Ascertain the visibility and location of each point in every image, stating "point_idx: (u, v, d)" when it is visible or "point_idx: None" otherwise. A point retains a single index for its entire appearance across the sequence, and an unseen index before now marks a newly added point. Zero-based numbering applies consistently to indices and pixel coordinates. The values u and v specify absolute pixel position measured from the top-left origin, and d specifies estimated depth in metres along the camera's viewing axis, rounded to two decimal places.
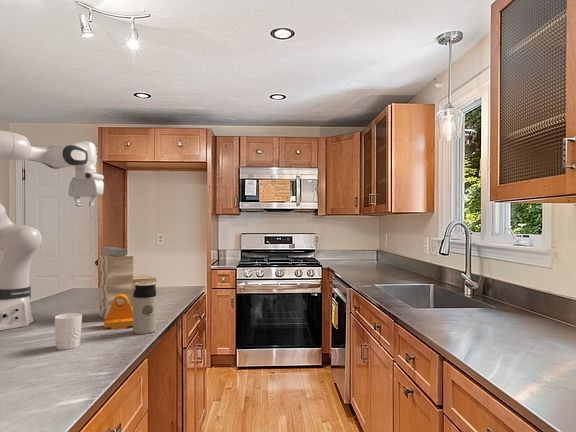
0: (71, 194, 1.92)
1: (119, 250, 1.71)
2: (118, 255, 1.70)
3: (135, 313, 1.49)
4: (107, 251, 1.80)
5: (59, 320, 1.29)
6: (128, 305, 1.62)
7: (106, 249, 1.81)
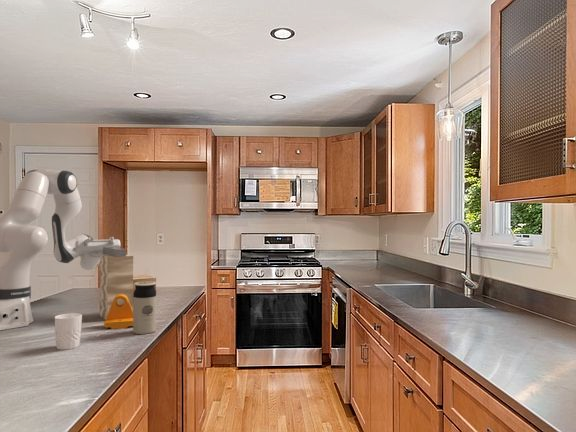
0: None
1: (119, 250, 1.71)
2: (118, 255, 1.70)
3: (135, 313, 1.49)
4: (107, 251, 1.80)
5: (59, 320, 1.29)
6: (128, 305, 1.62)
7: (106, 249, 1.81)
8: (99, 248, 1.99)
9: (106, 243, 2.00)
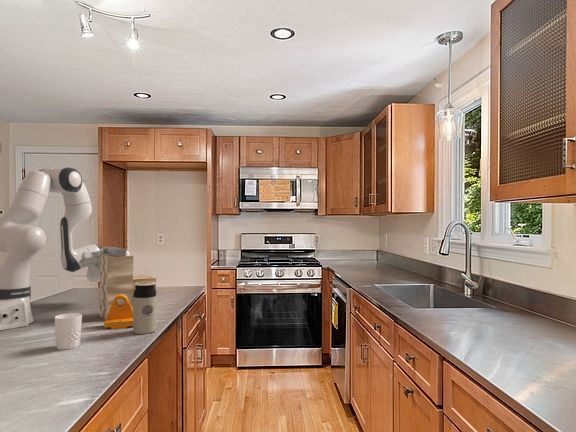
0: None
1: (119, 250, 1.71)
2: (118, 255, 1.70)
3: (135, 313, 1.49)
4: (107, 251, 1.80)
5: (59, 320, 1.29)
6: (128, 305, 1.62)
7: (106, 249, 1.81)
8: None
9: None
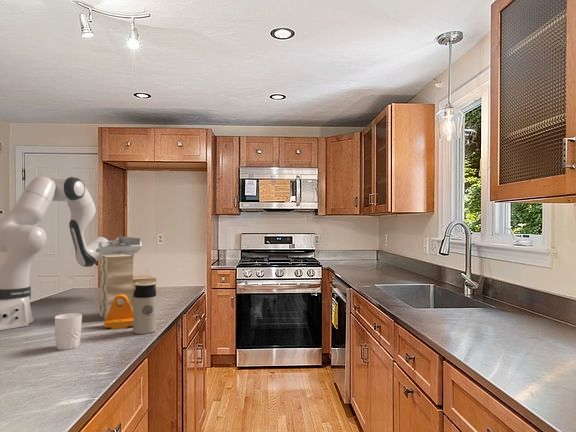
0: None
1: (134, 239, 1.86)
2: (133, 243, 1.86)
3: (135, 313, 1.49)
4: (122, 240, 1.95)
5: (59, 320, 1.29)
6: (128, 305, 1.62)
7: (121, 238, 1.97)
8: (121, 249, 2.04)
9: None
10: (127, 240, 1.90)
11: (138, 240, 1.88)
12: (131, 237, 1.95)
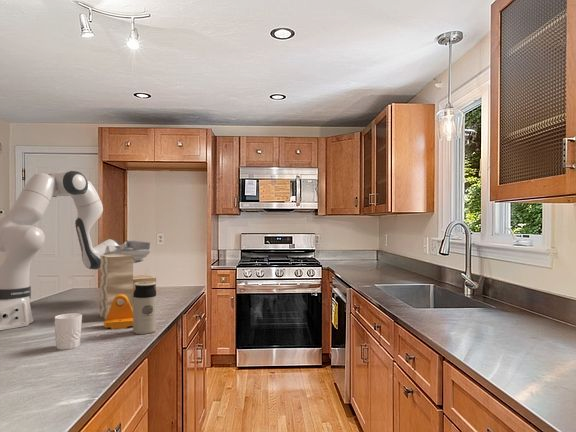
0: None
1: (143, 243, 1.77)
2: (142, 248, 1.77)
3: (135, 313, 1.49)
4: (130, 245, 1.86)
5: (59, 320, 1.29)
6: (128, 305, 1.62)
7: (129, 243, 1.87)
8: (129, 253, 1.95)
9: None
10: (136, 244, 1.80)
11: (148, 245, 1.78)
12: (140, 241, 1.86)
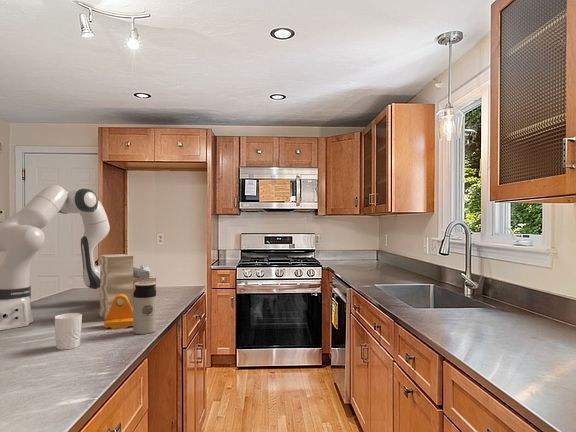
0: None
1: (143, 272, 1.77)
2: (142, 277, 1.77)
3: (135, 313, 1.49)
4: None
5: (59, 320, 1.29)
6: (128, 305, 1.62)
7: None
8: None
9: None
10: (136, 273, 1.80)
11: (147, 273, 1.78)
12: (140, 269, 1.86)
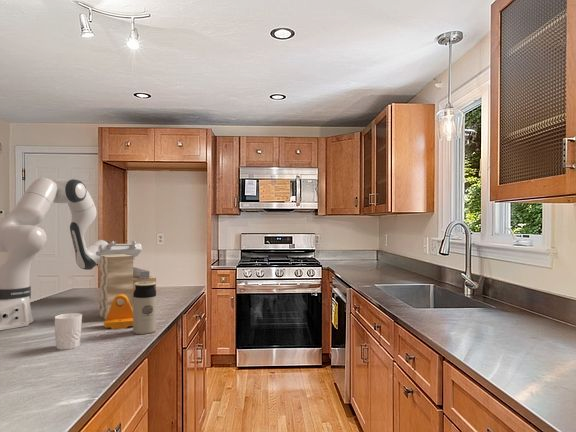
0: None
1: (143, 272, 1.77)
2: (142, 277, 1.77)
3: (135, 313, 1.49)
4: None
5: (59, 320, 1.29)
6: (128, 305, 1.62)
7: None
8: (121, 252, 2.04)
9: (128, 247, 2.05)
10: (136, 273, 1.80)
11: (147, 273, 1.78)
12: (140, 269, 1.86)
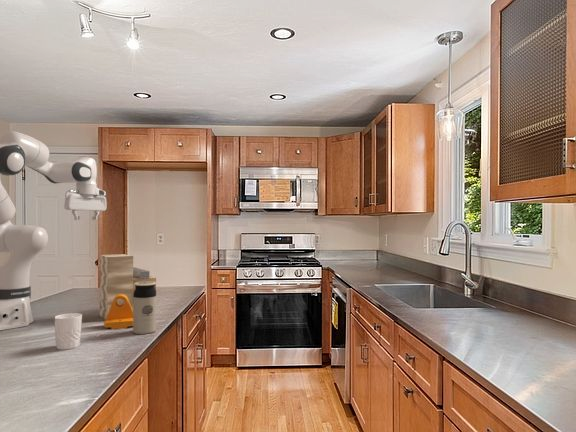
0: (74, 208, 1.89)
1: (143, 272, 1.77)
2: (142, 277, 1.77)
3: (135, 313, 1.49)
4: None
5: (59, 320, 1.29)
6: (128, 305, 1.62)
7: None
8: None
9: None
10: (136, 273, 1.80)
11: (147, 273, 1.78)
12: (140, 269, 1.86)
